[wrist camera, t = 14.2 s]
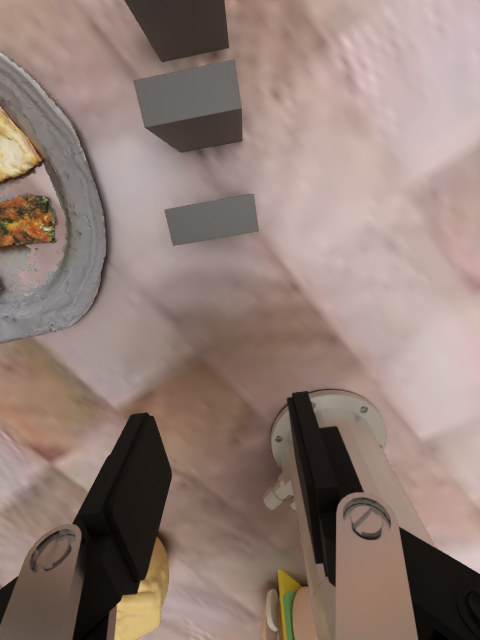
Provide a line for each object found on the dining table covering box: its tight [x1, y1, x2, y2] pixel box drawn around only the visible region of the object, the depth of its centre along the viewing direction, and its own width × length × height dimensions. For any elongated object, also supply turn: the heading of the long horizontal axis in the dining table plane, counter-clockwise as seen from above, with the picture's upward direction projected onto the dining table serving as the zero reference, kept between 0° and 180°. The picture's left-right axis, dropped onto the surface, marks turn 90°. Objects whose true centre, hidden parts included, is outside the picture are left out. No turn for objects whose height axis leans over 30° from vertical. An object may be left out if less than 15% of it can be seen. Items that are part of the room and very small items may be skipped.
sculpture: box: [114, 537, 169, 640], centre depth 38 cm, size 12×12×11 cm
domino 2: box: [134, 59, 242, 153], centre depth 20 cm, size 2×5×10 cm, turn 99°
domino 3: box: [165, 194, 259, 246], centre depth 22 cm, size 2×5×10 cm, turn 99°
